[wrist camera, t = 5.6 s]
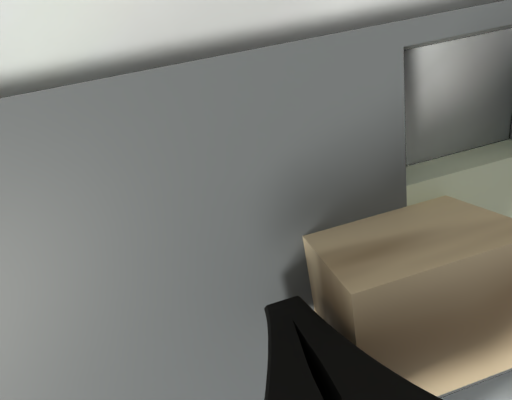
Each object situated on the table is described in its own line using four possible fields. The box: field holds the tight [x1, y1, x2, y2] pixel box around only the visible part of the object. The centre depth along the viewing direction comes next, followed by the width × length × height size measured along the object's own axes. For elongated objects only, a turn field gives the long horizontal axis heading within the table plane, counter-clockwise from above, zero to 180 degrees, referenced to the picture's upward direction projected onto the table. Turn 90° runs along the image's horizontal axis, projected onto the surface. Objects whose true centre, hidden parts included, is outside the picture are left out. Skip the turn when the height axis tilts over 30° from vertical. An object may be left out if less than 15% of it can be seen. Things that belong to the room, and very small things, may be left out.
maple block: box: [302, 195, 512, 396], centre depth 10 cm, size 5×6×4 cm
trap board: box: [0, 0, 512, 400], centre depth 11 cm, size 18×26×4 cm
